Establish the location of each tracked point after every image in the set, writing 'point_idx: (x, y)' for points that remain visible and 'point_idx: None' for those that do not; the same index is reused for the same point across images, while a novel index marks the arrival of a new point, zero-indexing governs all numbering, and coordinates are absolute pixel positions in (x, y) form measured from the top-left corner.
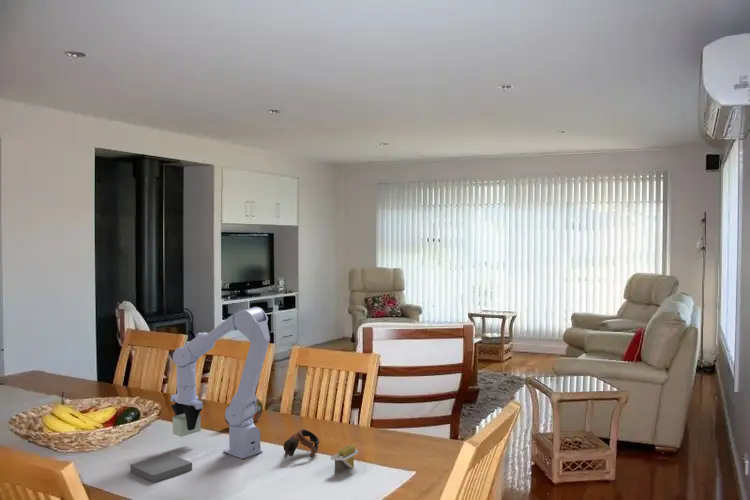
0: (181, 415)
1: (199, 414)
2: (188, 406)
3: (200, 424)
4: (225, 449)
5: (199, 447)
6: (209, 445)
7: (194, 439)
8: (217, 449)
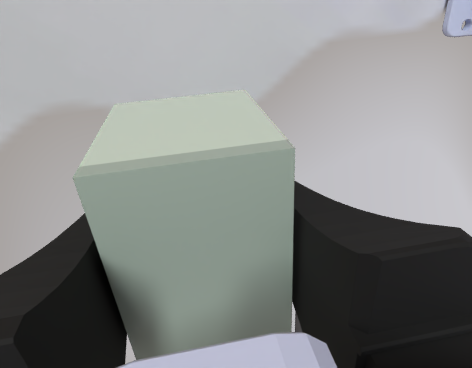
0: (183, 327)
1: (291, 159)
2: (60, 293)
3: (258, 106)
4: (451, 14)
5: (260, 97)
6: (275, 28)
7: (80, 39)
8: (375, 31)
